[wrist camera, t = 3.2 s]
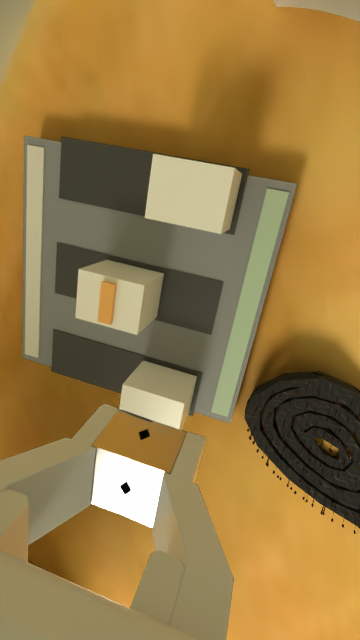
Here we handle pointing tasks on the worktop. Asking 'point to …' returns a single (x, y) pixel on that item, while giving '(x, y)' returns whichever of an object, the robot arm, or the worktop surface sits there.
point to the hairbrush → (311, 436)
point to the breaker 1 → (192, 193)
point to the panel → (148, 253)
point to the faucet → (326, 6)
